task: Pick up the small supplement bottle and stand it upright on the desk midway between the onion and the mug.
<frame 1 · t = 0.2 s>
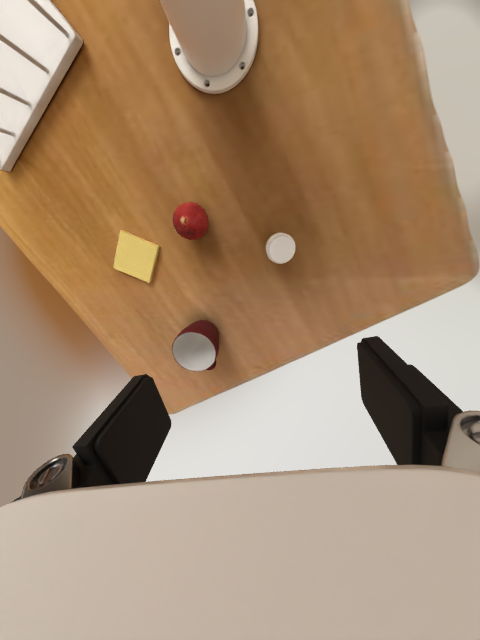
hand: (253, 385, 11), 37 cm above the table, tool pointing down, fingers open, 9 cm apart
file sorter: (1, 66, 38), on the table
mug: (209, 333, 52), on the table
onion: (197, 222, 43), on the table
sticky note pad: (137, 256, 47), on the table
supplement bottle: (278, 245, 44), on the table
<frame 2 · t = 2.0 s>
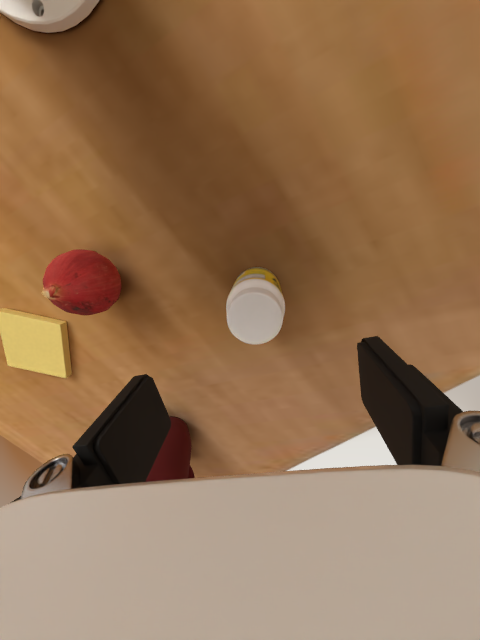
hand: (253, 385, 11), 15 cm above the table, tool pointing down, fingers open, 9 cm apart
mug: (180, 431, 33), on the table
onion: (111, 274, 25), on the table
sticky note pad: (39, 342, 29), on the table
supplement bottle: (257, 289, 24), on the table
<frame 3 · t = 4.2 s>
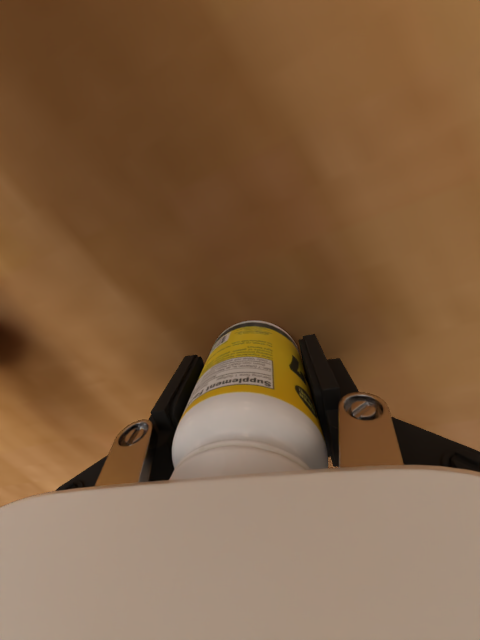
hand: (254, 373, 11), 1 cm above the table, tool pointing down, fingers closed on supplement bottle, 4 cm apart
supplement bottle: (255, 357, 13), on the table, touching gripper
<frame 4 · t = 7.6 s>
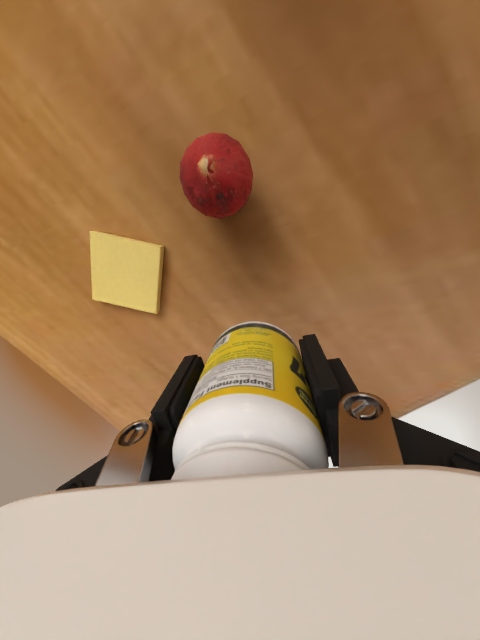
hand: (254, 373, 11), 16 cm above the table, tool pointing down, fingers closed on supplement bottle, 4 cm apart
onion: (224, 186, 23), on the table
sticky note pad: (129, 273, 27), on the table
supplement bottle: (255, 357, 13), point 14 cm above the table, touching gripper
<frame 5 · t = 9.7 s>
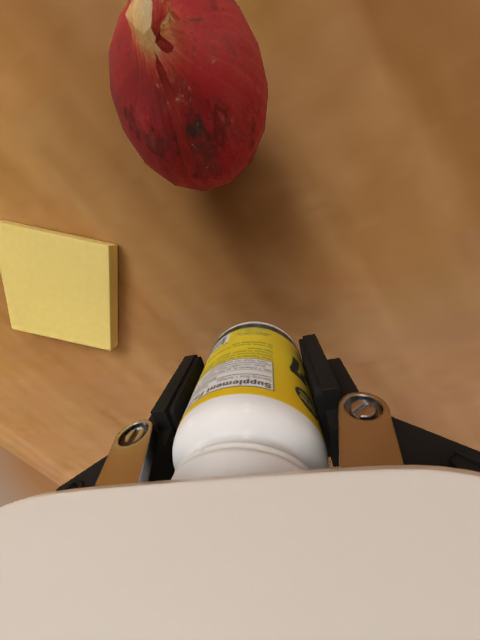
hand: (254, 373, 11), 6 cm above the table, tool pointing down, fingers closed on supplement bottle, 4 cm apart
onion: (213, 139, 13), on the table
sticky note pad: (66, 287, 17), on the table
supplement bottle: (255, 357, 13), point 4 cm above the table, touching gripper
when the fingers open (1 cm above the table, at t = 11.2 s): supplement bottle stays where it is, on the table.
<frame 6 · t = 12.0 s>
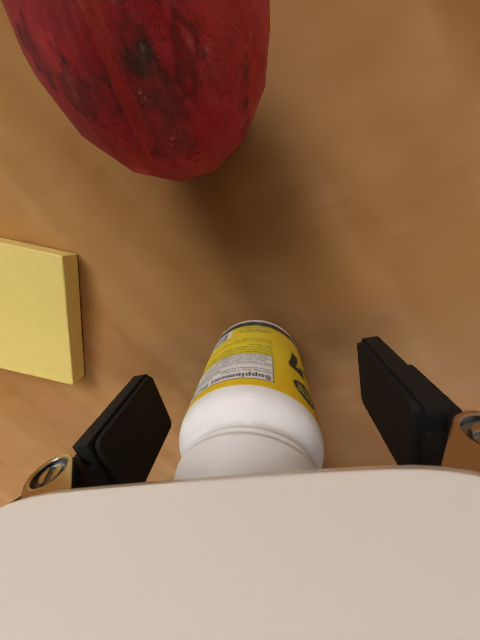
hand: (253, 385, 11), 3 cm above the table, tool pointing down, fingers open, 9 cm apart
onion: (196, 115, 10), on the table
sticky note pad: (18, 306, 14), on the table
supplement bottle: (256, 355, 13), on the table
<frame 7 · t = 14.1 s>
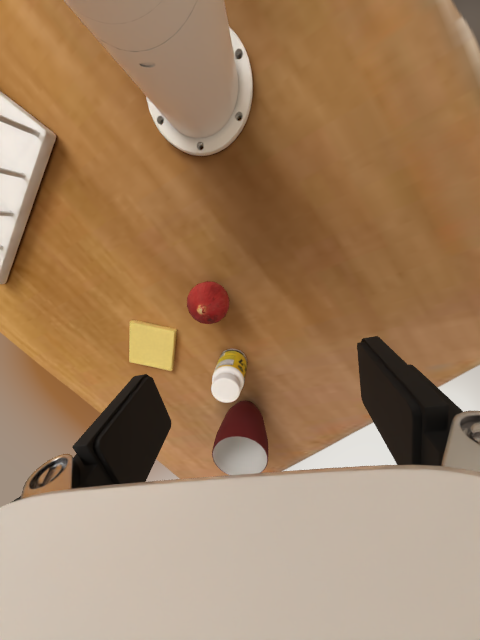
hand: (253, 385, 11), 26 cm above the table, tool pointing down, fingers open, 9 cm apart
mug: (249, 413, 43), on the table
onion: (214, 296, 37), on the table
sticky note pad: (153, 344, 41), on the table
supplement bottle: (233, 359, 40), on the table
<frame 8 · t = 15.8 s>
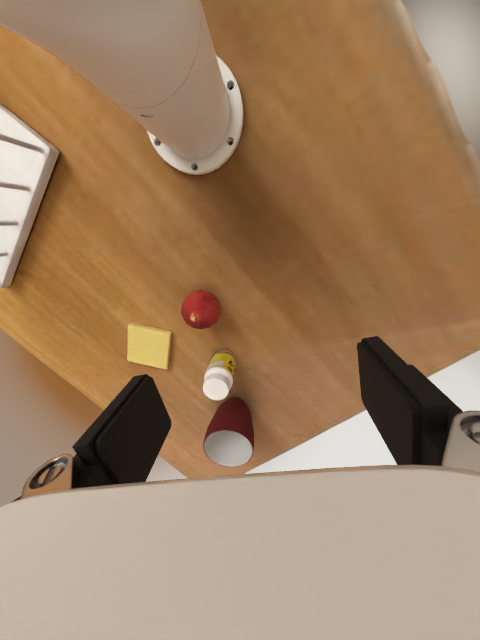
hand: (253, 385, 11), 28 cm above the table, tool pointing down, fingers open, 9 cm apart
mug: (239, 408, 47), on the table
onion: (206, 302, 40), on the table
sticky note pad: (150, 345, 44), on the table
supplement bottle: (224, 360, 43), on the table
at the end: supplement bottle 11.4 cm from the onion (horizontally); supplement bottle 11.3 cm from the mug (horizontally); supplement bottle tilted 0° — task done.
